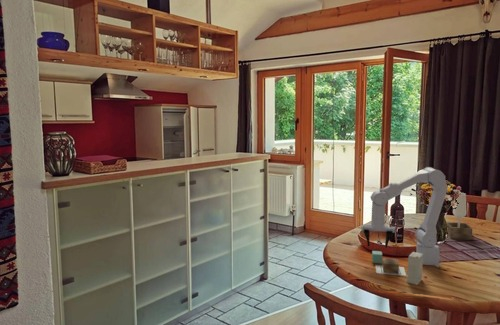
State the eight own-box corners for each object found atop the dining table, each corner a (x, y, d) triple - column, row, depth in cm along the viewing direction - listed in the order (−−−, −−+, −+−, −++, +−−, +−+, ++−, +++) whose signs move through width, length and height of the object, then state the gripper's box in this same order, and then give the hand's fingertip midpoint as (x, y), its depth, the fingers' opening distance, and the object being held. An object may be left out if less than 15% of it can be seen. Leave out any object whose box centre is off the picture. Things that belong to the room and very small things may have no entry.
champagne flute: (451, 236, 209) (453, 194, 206) (451, 233, 215) (453, 191, 212) (465, 238, 206) (468, 195, 203) (465, 234, 212) (467, 192, 209)
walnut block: (396, 267, 168) (397, 259, 167) (398, 273, 162) (398, 264, 161) (382, 266, 169) (382, 258, 169) (383, 272, 164) (383, 263, 163)
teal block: (381, 261, 177) (381, 251, 176) (382, 265, 173) (382, 254, 172) (371, 261, 178) (372, 250, 178) (372, 264, 174) (372, 254, 174)
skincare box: (411, 278, 159) (412, 251, 157) (422, 281, 156) (423, 253, 154) (406, 284, 154) (407, 255, 152) (417, 287, 151) (419, 258, 150)
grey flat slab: (403, 268, 169) (403, 267, 168) (406, 277, 160) (406, 275, 160) (375, 266, 172) (375, 264, 171) (376, 274, 163) (376, 272, 163)
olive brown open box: (466, 233, 215) (466, 223, 214) (471, 239, 204) (472, 228, 204) (445, 232, 217) (446, 222, 216) (450, 238, 207) (450, 227, 206)
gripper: (394, 216, 175) (393, 244, 177) (361, 214, 178) (360, 242, 180) (395, 220, 168) (394, 249, 170) (361, 218, 172) (361, 247, 174)
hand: (377, 246), depth 175 cm, fingers open, 7 cm apart
